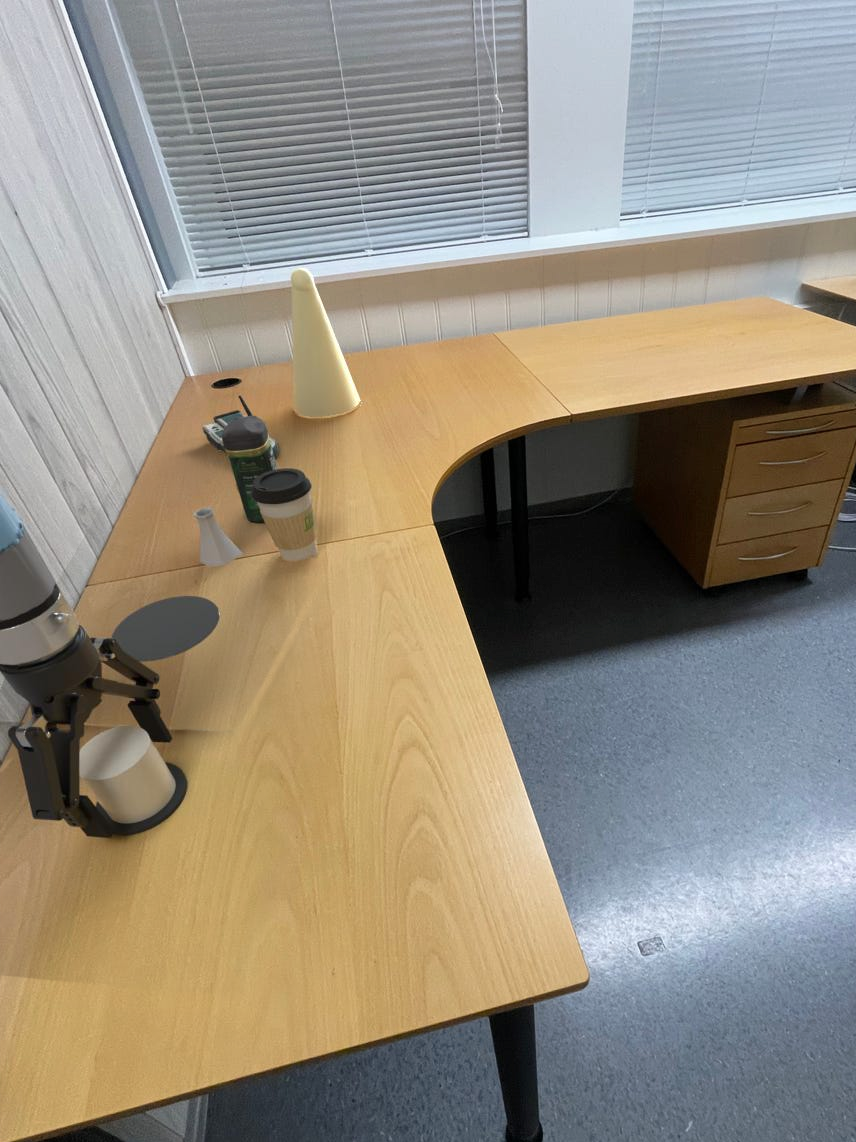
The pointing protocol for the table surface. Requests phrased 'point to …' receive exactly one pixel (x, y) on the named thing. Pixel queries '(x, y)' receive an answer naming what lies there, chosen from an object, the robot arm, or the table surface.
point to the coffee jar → (248, 458)
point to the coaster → (158, 817)
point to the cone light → (317, 355)
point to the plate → (167, 627)
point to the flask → (214, 540)
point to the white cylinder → (126, 774)
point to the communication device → (222, 421)
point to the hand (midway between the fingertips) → (133, 784)
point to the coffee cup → (287, 511)
